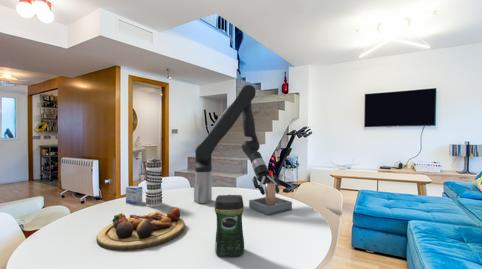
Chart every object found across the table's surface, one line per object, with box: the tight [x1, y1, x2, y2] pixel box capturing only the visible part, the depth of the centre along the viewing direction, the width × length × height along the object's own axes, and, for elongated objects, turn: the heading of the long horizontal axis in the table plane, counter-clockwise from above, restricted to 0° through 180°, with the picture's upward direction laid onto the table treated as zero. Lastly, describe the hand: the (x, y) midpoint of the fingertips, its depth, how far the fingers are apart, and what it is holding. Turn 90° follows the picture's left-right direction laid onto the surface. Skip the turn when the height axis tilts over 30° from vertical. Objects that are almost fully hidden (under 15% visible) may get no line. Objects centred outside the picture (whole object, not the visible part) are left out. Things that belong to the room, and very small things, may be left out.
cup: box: [264, 182, 277, 206], centre depth 126 cm, size 5×5×12 cm
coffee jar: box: [214, 194, 245, 258], centre depth 80 cm, size 10×8×19 cm
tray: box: [248, 196, 293, 216], centre depth 126 cm, size 16×15×4 cm
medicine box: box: [125, 185, 143, 205], centre depth 138 cm, size 8×4×9 cm, turn 73°
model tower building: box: [144, 157, 164, 208], centre depth 134 cm, size 9×9×25 cm
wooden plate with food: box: [95, 207, 186, 251], centre depth 97 cm, size 32×32×8 cm
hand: (271, 193), depth 125 cm, fingers open, 8 cm apart
